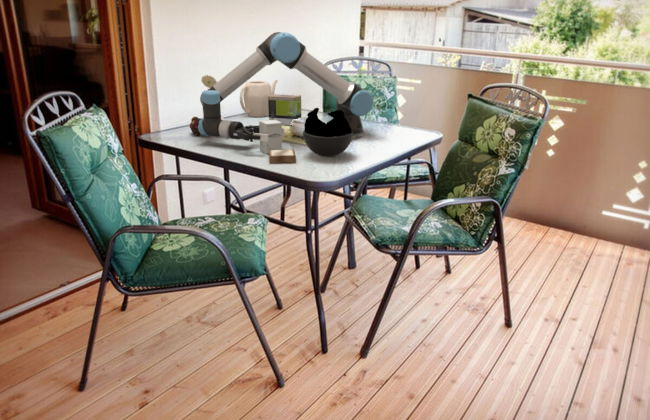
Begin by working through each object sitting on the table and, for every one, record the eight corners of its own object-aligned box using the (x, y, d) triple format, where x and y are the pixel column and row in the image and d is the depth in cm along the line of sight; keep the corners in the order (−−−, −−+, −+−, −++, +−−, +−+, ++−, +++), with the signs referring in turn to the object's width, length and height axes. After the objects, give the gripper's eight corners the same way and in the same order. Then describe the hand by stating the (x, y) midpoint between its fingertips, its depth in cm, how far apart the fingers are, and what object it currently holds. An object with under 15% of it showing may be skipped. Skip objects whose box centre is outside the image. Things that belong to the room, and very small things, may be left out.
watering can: (286, 114, 287) (286, 81, 280) (249, 120, 270) (248, 84, 263) (269, 110, 297) (268, 78, 291) (232, 116, 280) (231, 82, 273)
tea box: (301, 123, 265) (301, 94, 260) (294, 126, 256) (294, 97, 251) (276, 120, 270) (275, 93, 264) (268, 124, 261) (267, 95, 255)
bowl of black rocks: (359, 160, 197) (361, 113, 190) (311, 164, 190) (312, 115, 183) (341, 148, 214) (342, 104, 207) (296, 152, 208) (296, 106, 201)
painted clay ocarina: (201, 130, 244) (201, 114, 241) (218, 138, 234) (218, 121, 231) (183, 132, 237) (183, 115, 234) (200, 140, 228) (200, 122, 225)
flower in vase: (230, 124, 259) (228, 75, 250) (215, 128, 250) (211, 77, 241) (212, 121, 265) (209, 73, 256) (196, 125, 256) (192, 75, 247)
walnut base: (294, 156, 201) (293, 149, 200) (295, 163, 192) (295, 155, 191) (269, 157, 200) (268, 149, 199) (269, 163, 191) (269, 156, 189)
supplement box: (266, 154, 204) (265, 123, 199) (259, 150, 210) (258, 120, 205) (282, 152, 207) (282, 122, 202) (275, 148, 213) (275, 119, 208)
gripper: (247, 132, 224) (289, 137, 217) (215, 144, 203) (261, 150, 195) (247, 116, 222) (289, 120, 214) (214, 126, 200) (260, 131, 192)
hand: (276, 134), depth 205 cm, fingers open, 13 cm apart
